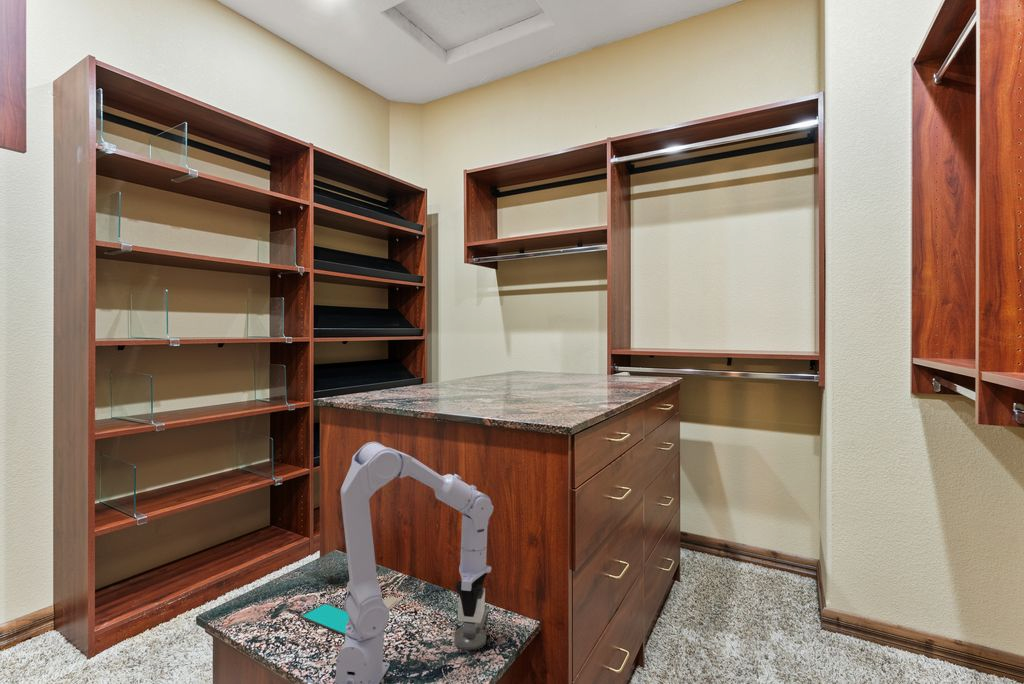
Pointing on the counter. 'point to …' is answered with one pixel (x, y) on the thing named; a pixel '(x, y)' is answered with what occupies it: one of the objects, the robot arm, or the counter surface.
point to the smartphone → (328, 618)
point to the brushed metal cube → (478, 611)
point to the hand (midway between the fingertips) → (471, 609)
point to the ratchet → (471, 635)
